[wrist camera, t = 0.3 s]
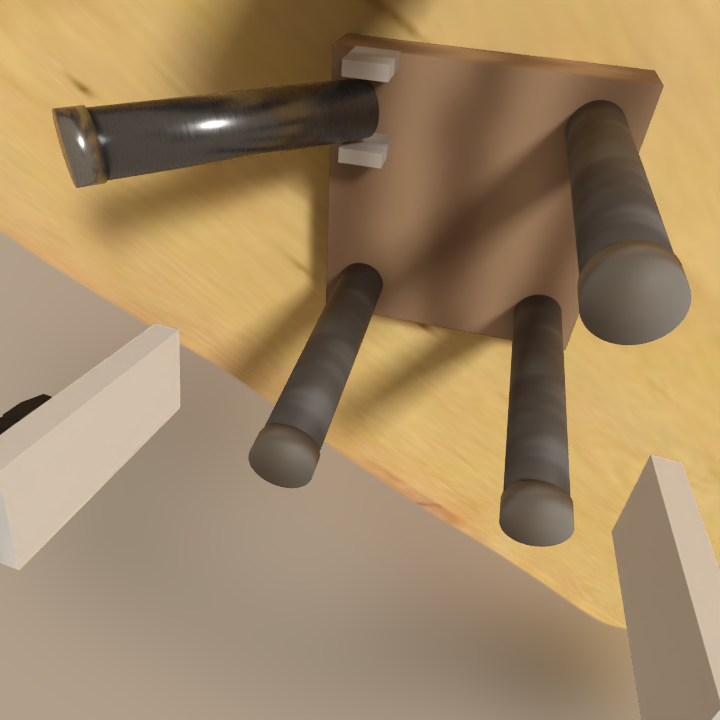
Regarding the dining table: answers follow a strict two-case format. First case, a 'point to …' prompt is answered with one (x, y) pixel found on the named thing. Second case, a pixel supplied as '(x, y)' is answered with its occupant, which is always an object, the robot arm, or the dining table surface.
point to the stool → (487, 243)
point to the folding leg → (211, 128)
